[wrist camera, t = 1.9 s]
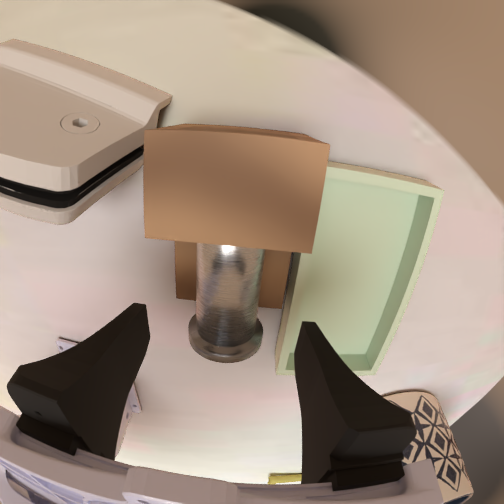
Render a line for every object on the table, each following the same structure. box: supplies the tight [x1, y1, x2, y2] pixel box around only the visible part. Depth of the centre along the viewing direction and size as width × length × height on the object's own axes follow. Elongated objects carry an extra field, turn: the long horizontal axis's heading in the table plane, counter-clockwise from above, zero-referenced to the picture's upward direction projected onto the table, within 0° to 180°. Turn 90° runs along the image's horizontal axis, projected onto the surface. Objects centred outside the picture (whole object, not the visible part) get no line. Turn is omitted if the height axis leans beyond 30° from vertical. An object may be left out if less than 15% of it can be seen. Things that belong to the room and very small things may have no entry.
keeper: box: [143, 124, 330, 309], centre depth 16 cm, size 11×7×7 cm, turn 175°
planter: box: [383, 392, 473, 504], centre depth 23 cm, size 16×16×14 cm
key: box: [268, 474, 302, 485], centre depth 36 cm, size 7×12×2 cm, turn 101°
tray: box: [275, 161, 444, 376], centre depth 19 cm, size 15×8×2 cm, turn 175°
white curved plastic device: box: [0, 39, 172, 225], centre depth 12 cm, size 17×5×10 cm, turn 60°
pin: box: [189, 243, 266, 363], centre depth 16 cm, size 11×5×5 cm, turn 174°
